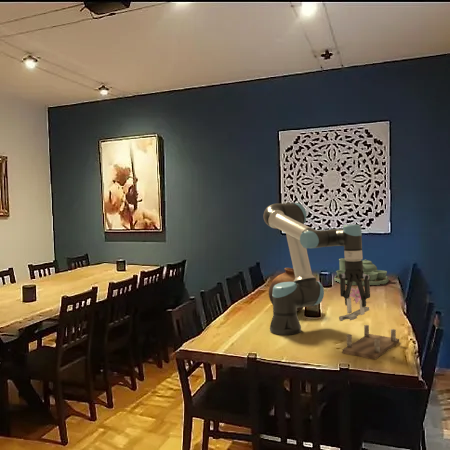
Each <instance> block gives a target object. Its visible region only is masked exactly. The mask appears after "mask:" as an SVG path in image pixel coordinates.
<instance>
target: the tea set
mask: <svg viewBox="0 0 450 450" xmlns="http://www.w3.org/2000/svg"><path fill="white" fill-rule="evenodd" d="M338 261H339V269H338V270H336V271H335V272H336V275H334V278H333V279H334V282H335V281H337V282H339V283H338V284H340V278H339V274H343V273H345V261H346V260H345V257H344V258H342V257H341V258H339V259H338ZM362 261H363V272H364V274H366V275H370V279H369V285H377V286H381V285H380V284H383V285H386V284H387V283H389V281H390V278H389V277H388V276H387V274H388V271H387V270H381V269H378V267H377V266H376V265H375V264H374V263H373V261H372V260H367V259H362ZM337 282H336V283H337ZM345 284H347V277H345ZM352 285H357V284H356V282H353V283H352ZM362 285H363V287H364V277H362Z"/></svg>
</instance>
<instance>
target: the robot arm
mask: <svg viewBox="0 0 450 450" xmlns="http://www.w3.org/2000/svg"><path fill="white" fill-rule="evenodd" d="M307 217H308V214H307V211H306V208H305V206H303V204H301V203H298V202H290V203H289V202H287V203H286V202H284V203H282V202H281V203H273V204H270V205H268V206H267V207H266V208H265V209H264V211H263V220H264V223H265V224H266V225H267V226H268V227H270V228H272V229H275V230H276V229H278V230H279V231H282V232H283V233H285V234H286V235H285V237H286V241H287V245H288V249H289V250H288V251H289V255H290V258H291V263H292V268H293V269H294V273H295V280H294V281H293V282H282V283H278V284H276V285H275V286H274V287H273V293H272V296H273V305H272V312H273V313H272V319H271V322H270V325H269V332H270V333H272V334H275V335H281V336H289V335H298V334H299V333H301V332H302V326H301V325H302V324H301V322H300V319H299V317H298V311H297V308H301V307H304V308H306V307H313V306H317V305H319V304H321V303H322V301H323V299H324V296H325V289H324V285H323V284H322V283H321V282H320V281H318V280H317V277H316V276H314V275H313V274H312V273H313V272H312V268H311V263H310V259H309V255H308V249H310V250H311V249H319V248H328V247H343V252H344V258H345V260H346V261H345V273H343V274H339V278H340V283H339V286H340V297H343V298H344V304H345V305H344V306H346V313H347V314H346V315H348V314H351V313H353V310H352V309H353V308H352V307H353V306H352V297H350V293H351V292H352V290H351V287H352V283H353V282H356V284H357V286H356V287H358V289H359V293H360V296H361V299H360V300H359V309H360V315H359V316H363V315H365V313H366V312H365V310H364V307H367V303H366V302H367V299H369V298H371V289H370V287H371V286H370V285H369V279H370V275H366V274H364V272H363V260H364V259H363V238H362V237H363V233H362V227H361V225H360V224H344V225H343V227H342V229H341V228H340V229H339V228H337V229H336V228H331V229H323V230H321V229H320V230H316V229H314V228H312V227H310V226H308V225H305V223H306V221H307ZM345 277H347V285H345ZM362 277H364V286H363V285H362ZM352 288H353V287H352Z"/></svg>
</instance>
